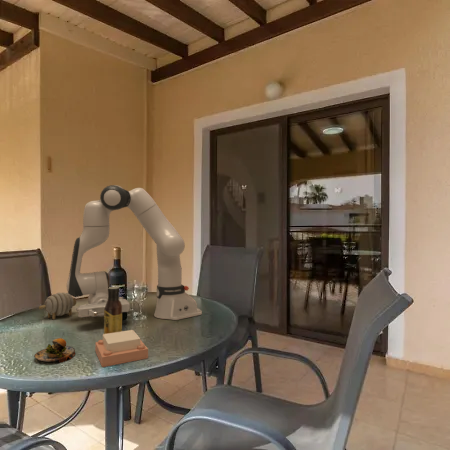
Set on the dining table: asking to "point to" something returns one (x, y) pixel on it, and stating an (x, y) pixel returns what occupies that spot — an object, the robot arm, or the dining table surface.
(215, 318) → the dining table surface
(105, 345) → the brick stack
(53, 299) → the toy sheep
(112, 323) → the sauce bottle
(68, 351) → the burger
